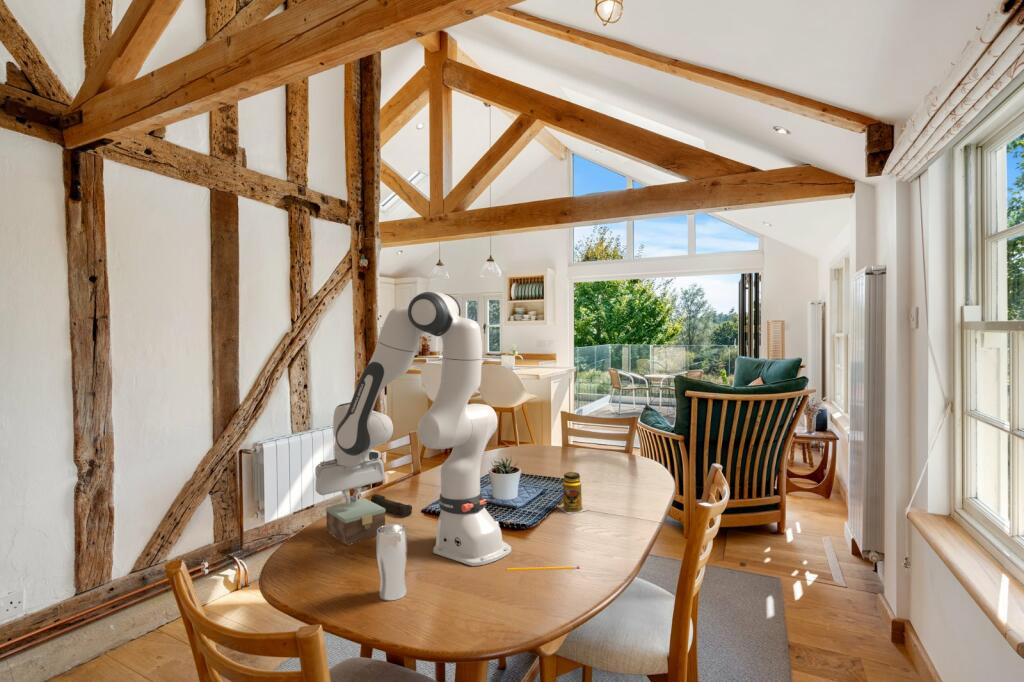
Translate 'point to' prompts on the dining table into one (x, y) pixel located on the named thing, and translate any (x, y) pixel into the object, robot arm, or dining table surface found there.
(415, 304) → the robot arm
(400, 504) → the dark brown rough bar
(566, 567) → the pencil
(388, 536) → the beer glass
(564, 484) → the condiment
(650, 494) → the dining table surface
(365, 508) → the lid
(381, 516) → the box
